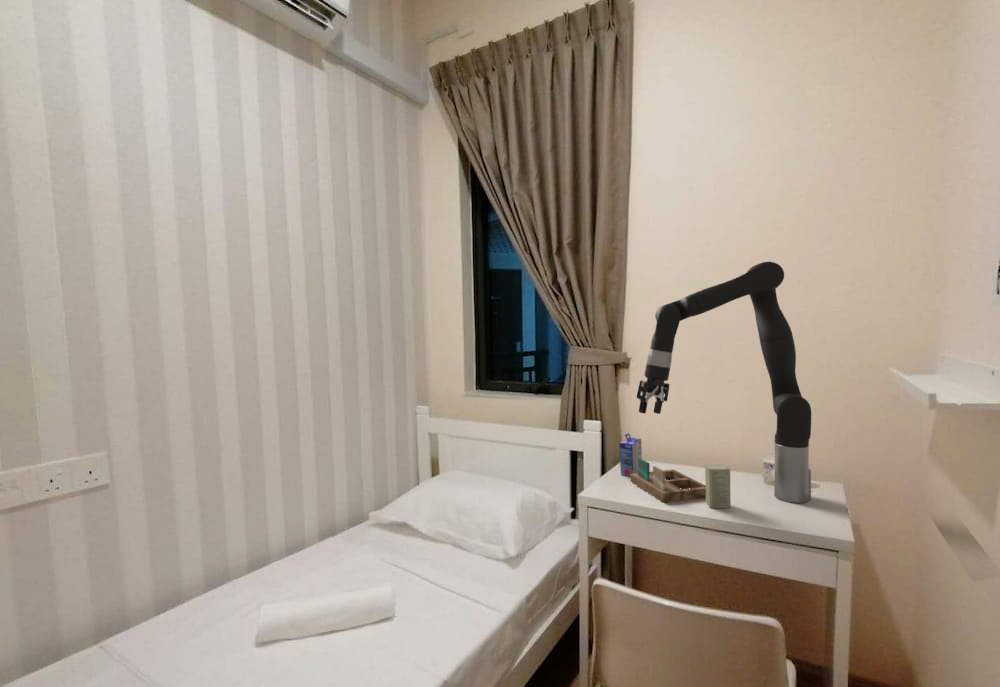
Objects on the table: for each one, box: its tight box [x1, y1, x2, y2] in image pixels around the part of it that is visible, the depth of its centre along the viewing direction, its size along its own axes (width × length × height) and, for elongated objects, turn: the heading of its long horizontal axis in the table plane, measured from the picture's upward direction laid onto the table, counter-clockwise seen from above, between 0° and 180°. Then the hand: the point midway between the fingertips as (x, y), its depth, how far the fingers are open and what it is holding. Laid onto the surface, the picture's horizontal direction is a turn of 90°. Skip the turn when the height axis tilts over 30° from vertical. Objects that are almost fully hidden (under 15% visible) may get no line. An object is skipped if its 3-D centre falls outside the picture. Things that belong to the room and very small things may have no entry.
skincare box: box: [704, 464, 731, 509], centre depth 149 cm, size 6×4×12 cm
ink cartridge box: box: [619, 433, 643, 477], centre depth 183 cm, size 10×6×14 cm, turn 146°
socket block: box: [630, 458, 706, 503], centre depth 164 cm, size 17×20×9 cm
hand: (649, 413), depth 161 cm, fingers open, 8 cm apart
